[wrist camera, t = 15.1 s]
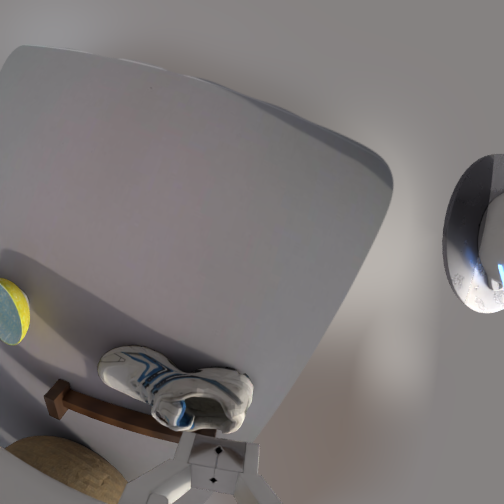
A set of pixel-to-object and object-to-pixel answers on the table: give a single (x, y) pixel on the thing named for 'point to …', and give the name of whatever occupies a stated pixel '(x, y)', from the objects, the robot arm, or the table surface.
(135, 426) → the wooden rail
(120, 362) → the athletic shoe
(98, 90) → the table surface
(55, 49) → the table surface
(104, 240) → the table surface
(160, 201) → the table surface
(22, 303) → the bowl
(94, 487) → the basket
